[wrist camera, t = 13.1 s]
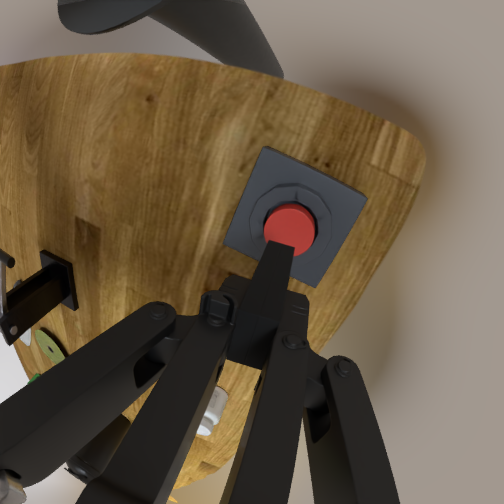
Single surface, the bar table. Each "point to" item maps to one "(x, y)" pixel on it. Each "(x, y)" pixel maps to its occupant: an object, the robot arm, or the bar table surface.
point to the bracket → (38, 296)
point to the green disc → (49, 347)
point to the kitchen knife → (27, 335)
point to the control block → (301, 193)
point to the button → (290, 227)
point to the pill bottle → (213, 411)
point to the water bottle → (98, 451)
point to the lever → (4, 279)
